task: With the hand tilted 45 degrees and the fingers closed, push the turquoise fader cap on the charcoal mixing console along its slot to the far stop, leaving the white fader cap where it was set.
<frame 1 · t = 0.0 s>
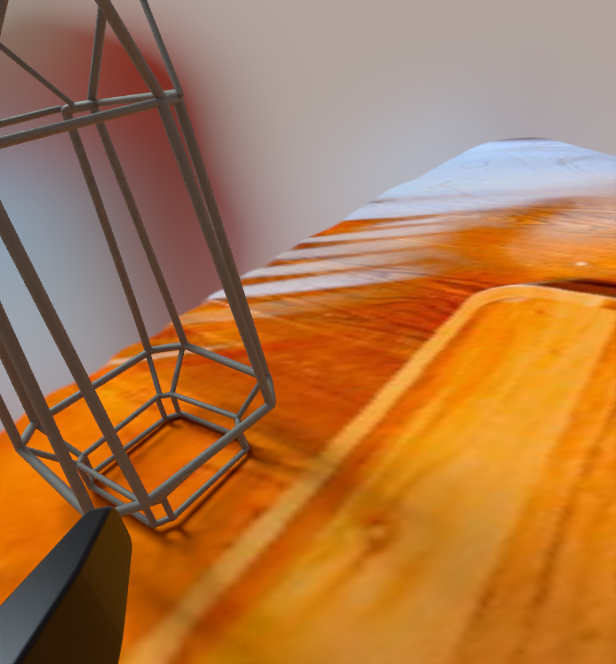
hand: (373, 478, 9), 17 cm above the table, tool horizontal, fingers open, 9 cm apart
geometric lantern: (167, 470, 35), on the table
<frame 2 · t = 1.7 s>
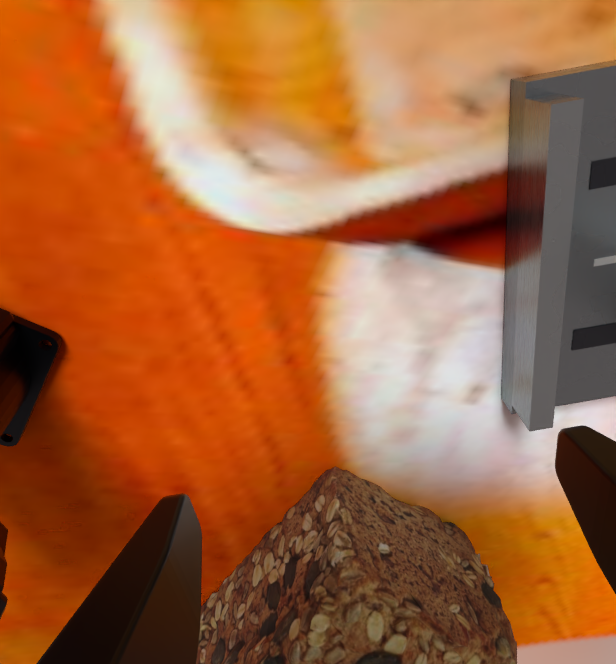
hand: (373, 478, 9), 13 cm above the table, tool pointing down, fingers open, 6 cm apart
bread: (306, 580, 31), on the table
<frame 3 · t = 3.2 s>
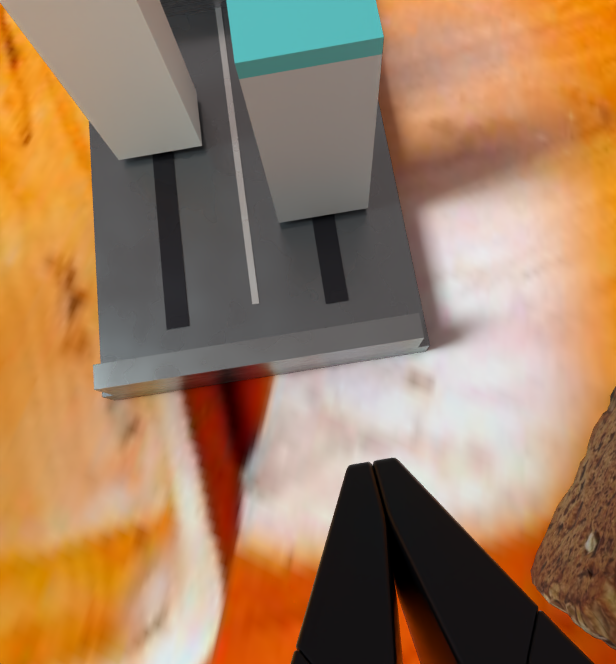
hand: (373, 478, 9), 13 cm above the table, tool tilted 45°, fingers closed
fader turquoise: (311, 117, 19), point 6 cm above the table, slide at 0.0 cm
console: (242, 176, 26), on the table
fader white: (114, 48, 20), point 6 cm above the table, slide at 4.5 cm
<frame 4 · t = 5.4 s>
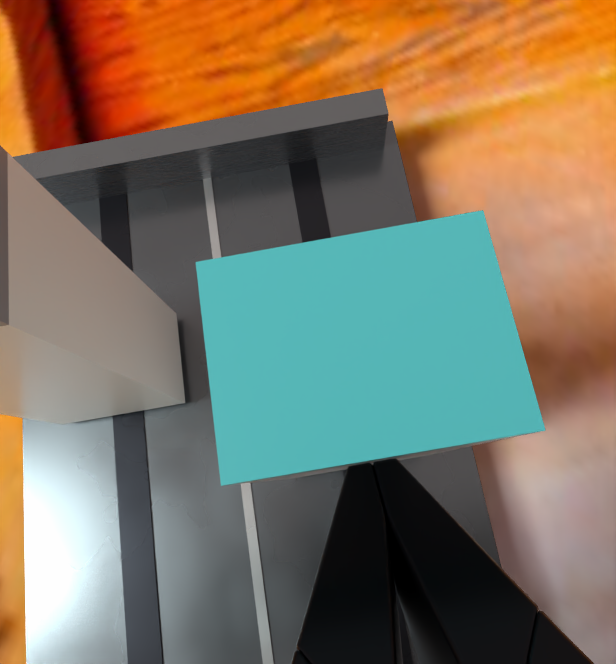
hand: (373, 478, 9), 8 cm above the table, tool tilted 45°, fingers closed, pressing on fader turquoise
fader turquoise: (352, 394, 11), point 6 cm above the table, slide at 1.7 cm, touching gripper
console: (245, 430, 18), on the table
fader white: (36, 328, 12), point 6 cm above the table, slide at 4.5 cm
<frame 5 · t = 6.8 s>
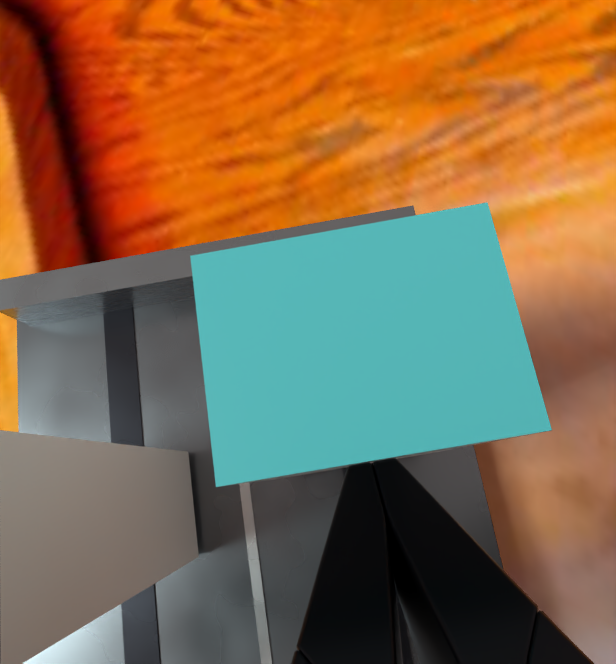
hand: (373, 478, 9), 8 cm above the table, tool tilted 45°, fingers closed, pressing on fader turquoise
fader turquoise: (352, 392, 11), point 6 cm above the table, slide at 6.3 cm, touching gripper
console: (263, 574, 16), on the table
fader white: (34, 533, 11), point 6 cm above the table, slide at 4.5 cm
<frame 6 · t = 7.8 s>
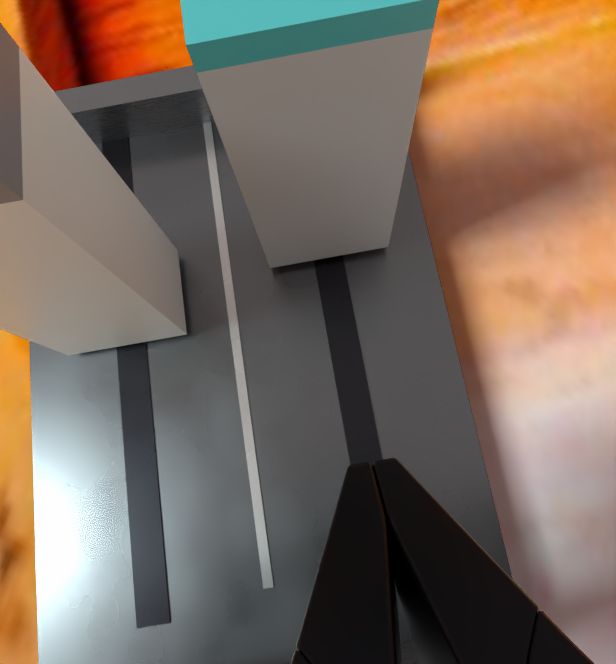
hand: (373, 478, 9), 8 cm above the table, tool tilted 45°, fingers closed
fader turquoise: (313, 129, 13), point 6 cm above the table, slide at 6.3 cm
console: (244, 364, 18), on the table
fader white: (44, 243, 13), point 6 cm above the table, slide at 4.5 cm
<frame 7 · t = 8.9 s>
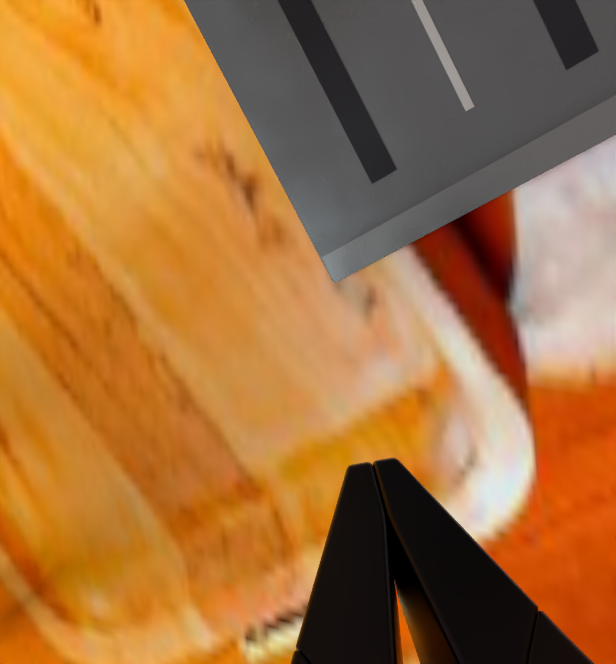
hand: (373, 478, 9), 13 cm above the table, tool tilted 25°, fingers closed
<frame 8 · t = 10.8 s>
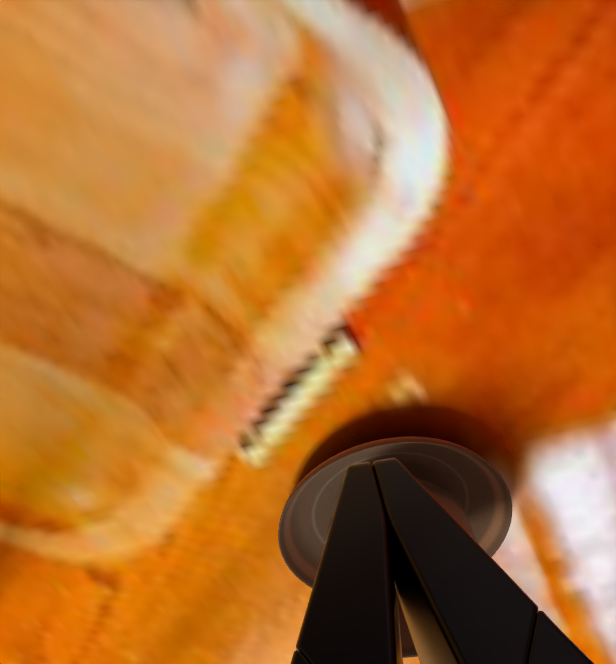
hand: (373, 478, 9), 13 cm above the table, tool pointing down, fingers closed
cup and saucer: (387, 499, 28), on the table
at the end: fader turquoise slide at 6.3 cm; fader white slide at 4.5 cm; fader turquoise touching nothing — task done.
